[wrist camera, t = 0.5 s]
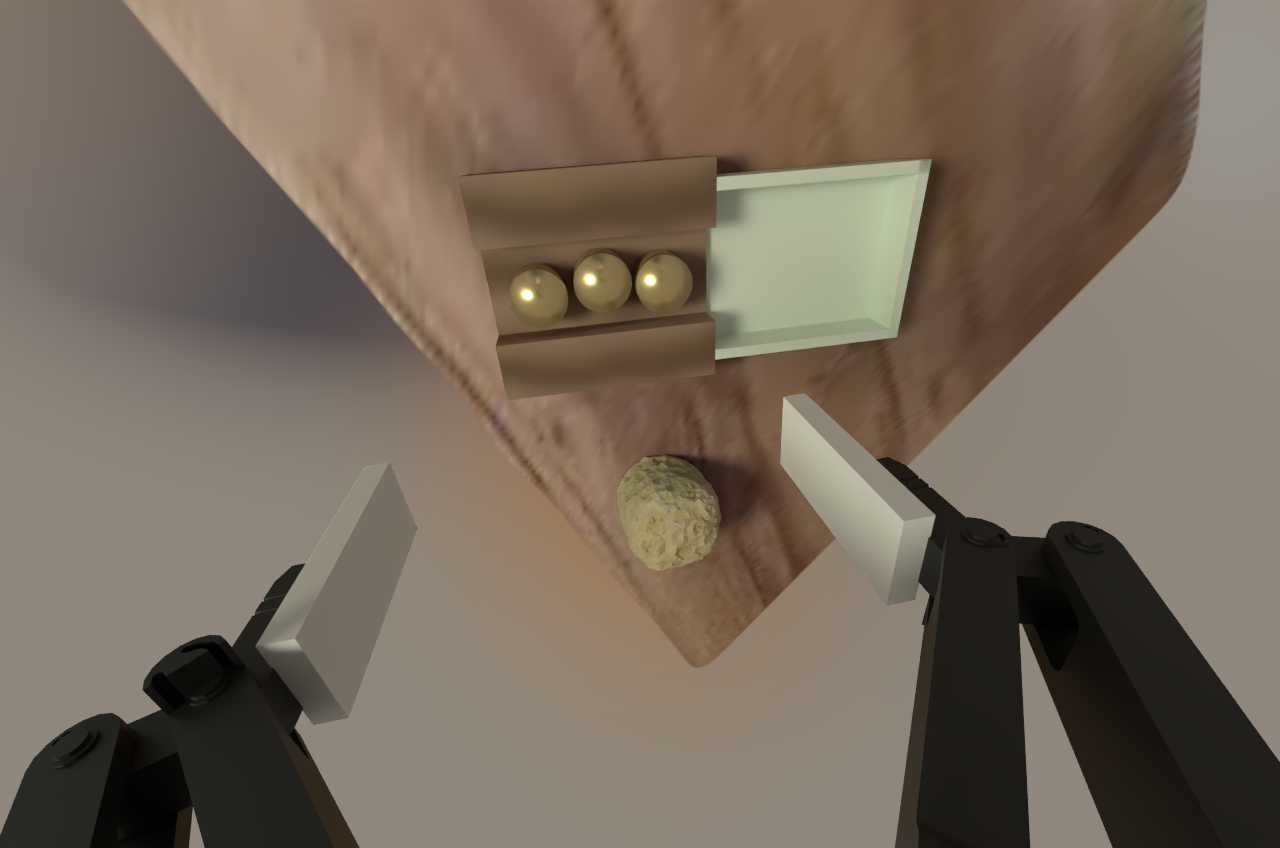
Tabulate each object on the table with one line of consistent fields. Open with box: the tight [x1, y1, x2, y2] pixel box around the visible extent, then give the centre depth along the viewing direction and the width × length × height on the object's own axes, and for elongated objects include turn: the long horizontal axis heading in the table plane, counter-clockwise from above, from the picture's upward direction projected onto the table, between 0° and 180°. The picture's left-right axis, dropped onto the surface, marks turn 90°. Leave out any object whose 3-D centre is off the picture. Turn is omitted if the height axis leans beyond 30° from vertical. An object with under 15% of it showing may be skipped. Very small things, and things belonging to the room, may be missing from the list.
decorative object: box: [617, 455, 721, 571], centre depth 45 cm, size 9×10×10 cm
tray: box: [706, 159, 932, 360], centre depth 37 cm, size 13×15×4 cm
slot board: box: [458, 156, 717, 400], centre depth 35 cm, size 15×16×4 cm
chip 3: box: [632, 249, 692, 313], centre depth 36 cm, size 4×4×2 cm
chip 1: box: [509, 263, 568, 328], centre depth 35 cm, size 4×4×2 cm
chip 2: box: [572, 248, 632, 313], centre depth 35 cm, size 4×4×2 cm
